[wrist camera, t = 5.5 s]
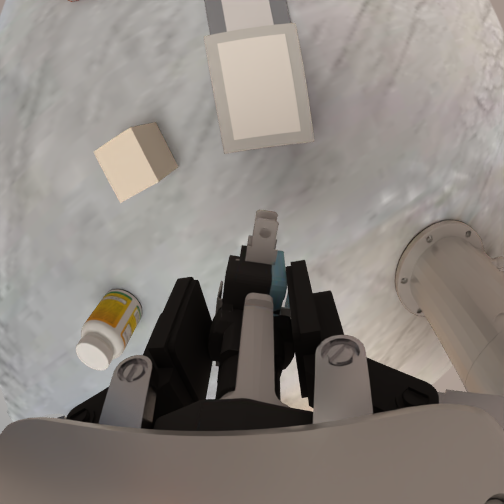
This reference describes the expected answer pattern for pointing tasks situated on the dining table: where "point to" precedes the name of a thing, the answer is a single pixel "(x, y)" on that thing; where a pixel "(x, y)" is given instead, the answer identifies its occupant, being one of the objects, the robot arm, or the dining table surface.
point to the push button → (248, 344)
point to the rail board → (257, 75)
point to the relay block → (135, 160)
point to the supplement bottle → (108, 329)
